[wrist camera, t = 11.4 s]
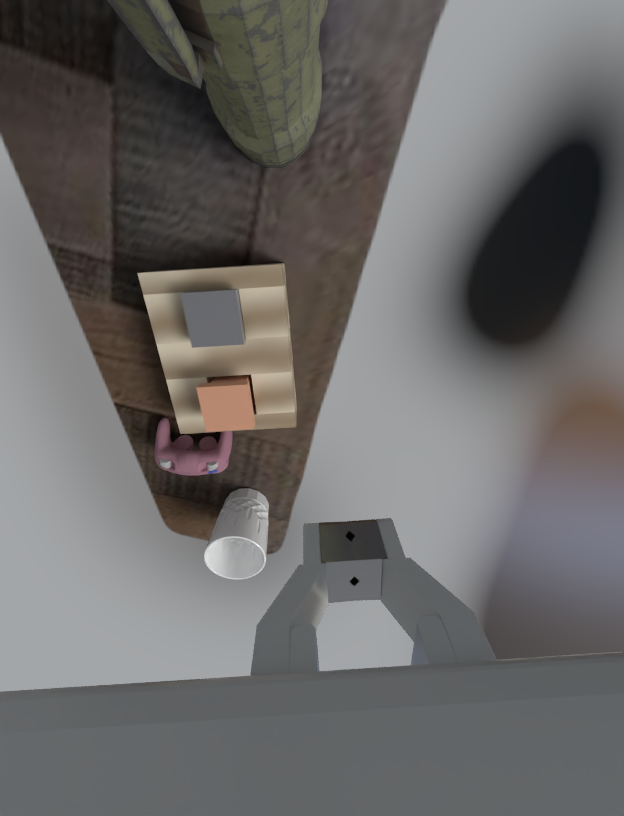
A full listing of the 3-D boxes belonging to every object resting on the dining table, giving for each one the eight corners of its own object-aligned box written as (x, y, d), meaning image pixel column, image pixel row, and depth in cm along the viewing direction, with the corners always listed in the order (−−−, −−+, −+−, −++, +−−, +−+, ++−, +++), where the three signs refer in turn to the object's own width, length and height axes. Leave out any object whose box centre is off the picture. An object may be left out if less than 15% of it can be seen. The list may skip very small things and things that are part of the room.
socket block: (158, 270, 36) (137, 273, 31) (284, 262, 36) (281, 264, 31) (193, 415, 43) (180, 434, 39) (296, 409, 43) (296, 426, 39)
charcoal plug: (200, 286, 36) (180, 293, 30) (246, 283, 36) (235, 289, 30) (209, 333, 38) (192, 347, 32) (252, 330, 38) (243, 344, 32)
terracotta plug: (212, 367, 39) (196, 387, 33) (255, 364, 39) (247, 384, 33) (220, 405, 41) (206, 432, 35) (261, 403, 41) (253, 429, 35)
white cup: (269, 482, 49) (262, 534, 40) (274, 521, 52) (269, 577, 43) (217, 485, 49) (198, 538, 40) (226, 524, 52) (210, 581, 43)
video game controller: (167, 432, 46) (151, 477, 42) (158, 413, 43) (140, 460, 38) (236, 437, 47) (228, 481, 43) (233, 418, 43) (224, 465, 39)
